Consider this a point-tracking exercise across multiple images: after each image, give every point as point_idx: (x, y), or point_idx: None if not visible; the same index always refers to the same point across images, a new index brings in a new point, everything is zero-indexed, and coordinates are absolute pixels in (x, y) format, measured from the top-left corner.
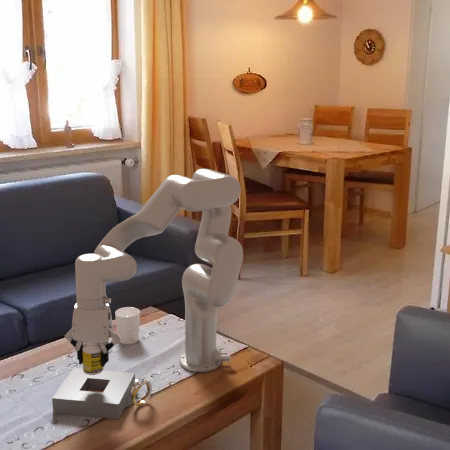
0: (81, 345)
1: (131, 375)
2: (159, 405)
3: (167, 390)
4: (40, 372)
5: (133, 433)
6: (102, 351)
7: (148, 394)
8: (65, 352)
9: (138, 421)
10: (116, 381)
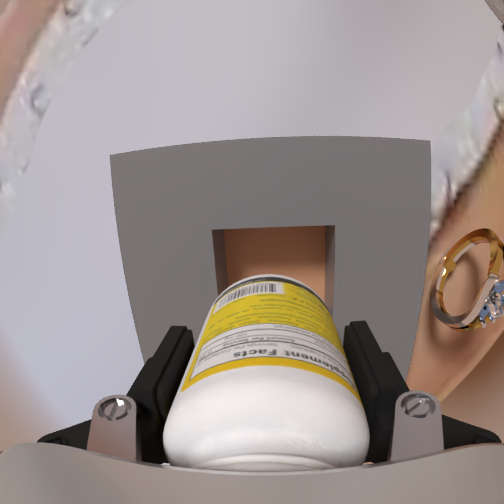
0: (143, 447)
1: (421, 165)
2: (490, 251)
3: (500, 156)
4: (22, 139)
5: (429, 389)
6: (369, 452)
7: (476, 242)
8: (53, 3)
9: (441, 343)
10: (368, 234)
